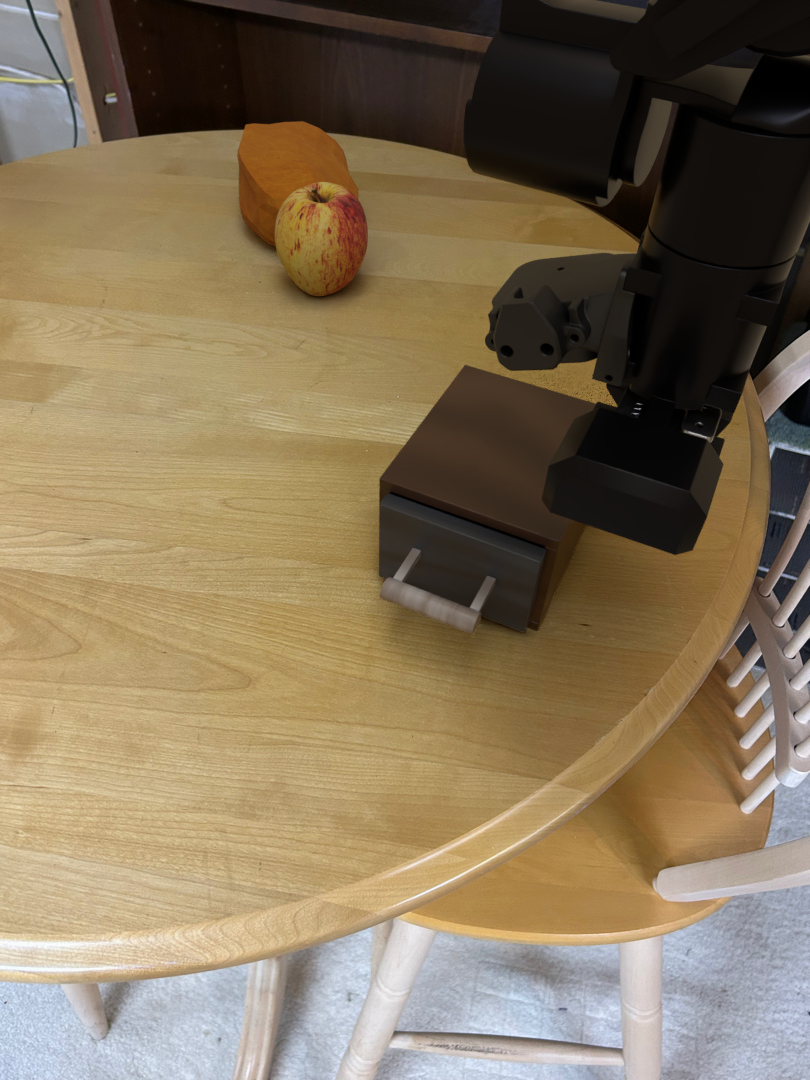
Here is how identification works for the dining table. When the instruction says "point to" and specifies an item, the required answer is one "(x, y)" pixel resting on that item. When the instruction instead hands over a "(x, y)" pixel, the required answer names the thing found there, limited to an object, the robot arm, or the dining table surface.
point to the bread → (284, 169)
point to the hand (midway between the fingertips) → (629, 515)
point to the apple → (321, 237)
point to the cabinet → (494, 464)
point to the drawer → (455, 566)
